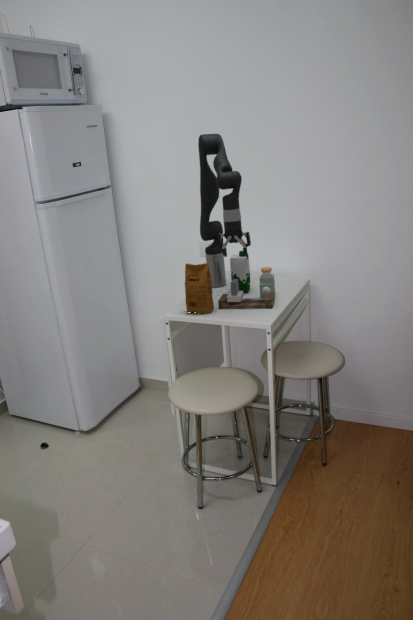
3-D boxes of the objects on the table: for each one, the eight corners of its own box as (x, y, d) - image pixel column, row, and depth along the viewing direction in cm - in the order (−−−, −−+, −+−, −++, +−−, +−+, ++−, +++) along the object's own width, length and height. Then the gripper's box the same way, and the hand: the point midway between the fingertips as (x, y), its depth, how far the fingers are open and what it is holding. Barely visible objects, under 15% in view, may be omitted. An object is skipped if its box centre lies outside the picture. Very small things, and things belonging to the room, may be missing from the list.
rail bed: (218, 309, 224) (218, 300, 223) (223, 301, 234) (222, 293, 232) (272, 308, 218) (271, 299, 217) (274, 301, 228) (274, 292, 226)
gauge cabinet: (260, 299, 232) (258, 278, 229) (262, 293, 239) (261, 273, 236) (273, 299, 230) (272, 278, 227) (275, 293, 238) (274, 273, 235)
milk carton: (249, 293, 242) (246, 253, 235) (231, 294, 244) (227, 254, 237) (252, 288, 250) (249, 249, 243) (234, 289, 252) (230, 250, 245)
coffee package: (191, 307, 231) (186, 260, 224) (217, 307, 227) (212, 260, 220) (183, 314, 222) (178, 266, 215) (210, 315, 218) (205, 266, 211)
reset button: (260, 278, 230) (260, 270, 229) (262, 275, 235) (261, 267, 233) (271, 278, 229) (270, 269, 228) (272, 275, 233) (272, 267, 232)
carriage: (227, 301, 223) (225, 283, 221) (230, 296, 231) (229, 278, 228) (240, 301, 222) (239, 283, 219) (243, 296, 229) (242, 278, 226)
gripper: (214, 221, 214) (217, 259, 219) (247, 219, 210) (249, 257, 215) (218, 219, 221) (221, 255, 226) (249, 217, 217) (252, 253, 222)
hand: (235, 256), depth 221 cm, fingers open, 8 cm apart
